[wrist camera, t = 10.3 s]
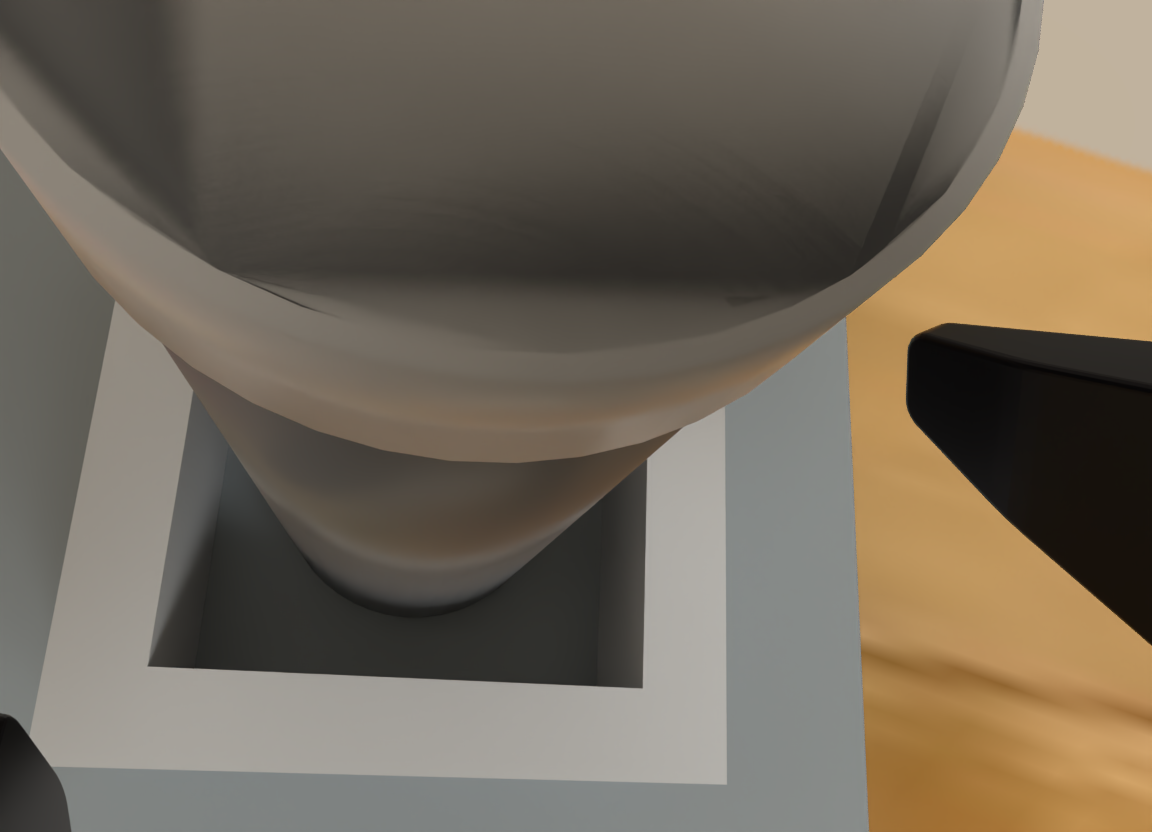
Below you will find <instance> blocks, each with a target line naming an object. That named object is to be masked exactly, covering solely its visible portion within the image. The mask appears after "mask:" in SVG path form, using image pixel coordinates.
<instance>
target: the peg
mask: <svg viewBox="0 0 1152 832" xmlns="http://www.w3.org/2000/svg"><path fill="white" fill-rule="evenodd" d="M1043 4H1044V0H0V149H1V150H2V152H3V153H4V155H5V156H6V157H7V159H8V160H9V162H10V163H11V164H12V166H13V167H14V168H15V170H16V171H17V173H18V174H19V175H20V177H21V178H22V180H23V181H24V182H25V184H26V185H27V186H28V188H29V189H30V191H31V192H32V193H33V195H34V196H35V198H36V199H37V200H38V202H39V203H40V204H41V206H42V207H43V209H44V210H45V211H46V213H47V214H48V216H49V217H50V218H51V220H52V221H53V222H54V224H55V225H56V227H57V228H58V229H59V231H60V232H61V234H62V235H63V236H64V238H65V239H66V240H67V242H68V243H69V245H70V246H71V247H72V249H73V250H74V252H75V253H76V254H77V256H78V257H79V258H80V260H81V261H82V263H83V264H84V265H85V267H86V268H87V270H88V271H89V272H90V274H91V275H92V276H93V277H94V279H95V280H96V281H97V282H98V283H99V284H100V285H101V286H102V287H103V288H104V289H105V290H106V291H107V292H108V293H109V294H110V295H111V296H112V297H113V298H114V299H115V300H116V301H117V303H118V304H119V305H120V306H121V307H122V308H123V309H124V310H125V311H126V312H127V313H128V314H129V315H130V316H131V317H132V318H133V319H134V320H135V321H136V322H137V323H138V324H139V325H140V326H141V327H142V328H144V329H145V330H146V331H147V332H149V333H150V334H151V335H152V336H154V337H155V338H156V339H157V340H159V341H160V342H161V343H162V344H163V345H164V347H165V348H166V350H167V351H168V353H169V354H170V356H171V357H172V359H173V361H174V362H175V364H176V365H177V367H178V368H179V370H180V371H181V373H182V374H183V376H184V377H185V379H186V380H187V382H188V383H189V385H190V386H191V388H192V389H193V391H194V392H195V394H196V395H197V397H198V398H199V400H200V401H201V403H202V404H203V406H204V408H205V409H206V411H207V412H208V414H209V415H210V417H211V418H212V420H213V421H214V423H215V424H216V426H217V427H218V429H219V430H220V432H221V433H222V435H223V436H224V438H225V439H226V441H227V442H228V444H229V445H230V447H231V448H232V450H233V451H234V453H235V454H236V456H237V458H238V459H239V461H240V462H241V464H242V465H243V467H244V468H245V470H246V471H247V473H248V474H249V476H250V477H251V479H252V480H253V482H254V483H255V485H256V486H257V488H258V489H259V491H260V492H261V494H262V495H263V497H264V498H265V500H266V501H267V503H268V505H269V506H270V508H271V509H272V511H273V512H274V514H275V515H276V517H277V518H278V520H279V521H280V523H281V524H282V526H283V527H284V529H285V530H286V532H287V533H288V535H289V536H290V538H291V539H292V541H293V542H294V544H295V545H296V547H297V548H298V550H299V551H300V553H301V555H302V556H303V557H304V559H305V560H306V562H307V563H308V564H309V566H310V567H311V569H312V570H313V571H314V572H315V573H316V574H317V575H318V576H319V578H320V579H321V580H322V581H323V582H324V583H325V584H326V585H328V586H329V587H330V588H332V589H333V590H334V591H335V592H337V593H338V594H339V595H341V596H343V597H344V598H346V599H348V600H349V601H351V602H353V603H354V604H357V605H359V606H361V607H364V608H366V609H369V610H371V611H375V612H379V613H382V614H386V615H392V616H399V617H429V616H437V615H442V614H446V613H450V612H453V611H457V610H460V609H462V608H465V607H467V606H469V605H472V604H474V603H476V602H477V601H479V600H481V599H483V598H484V597H486V596H488V595H489V594H491V593H492V592H493V591H495V590H496V589H497V588H499V587H500V586H501V585H502V584H504V583H505V582H506V581H507V580H508V579H509V578H510V577H512V576H513V575H514V574H515V573H516V572H517V571H519V570H520V569H521V568H522V567H523V566H524V565H525V564H527V563H528V562H529V561H530V560H531V559H532V558H533V557H535V556H536V555H537V554H538V553H539V552H540V551H542V550H543V549H544V548H545V547H546V546H547V545H548V544H550V543H551V542H552V541H553V540H554V539H555V538H556V537H558V536H559V535H560V534H561V533H562V532H563V531H565V530H566V529H567V528H568V527H569V526H570V525H571V524H573V523H574V522H575V521H576V520H577V519H578V518H579V517H581V516H582V515H583V514H584V513H585V512H586V511H588V510H589V509H590V508H591V507H592V506H593V505H594V504H596V503H597V502H598V501H599V500H600V499H601V498H603V497H604V496H605V495H606V494H607V493H608V492H609V491H611V490H612V489H613V488H614V487H615V486H616V485H617V484H619V483H620V482H621V481H622V480H623V479H624V478H626V477H627V476H628V475H629V474H630V473H631V472H632V471H634V470H635V469H636V468H637V467H638V466H639V465H640V464H642V463H643V462H644V461H645V460H646V459H647V458H649V457H650V456H651V455H652V454H653V453H654V452H655V451H657V450H658V449H659V448H660V447H661V446H662V445H664V444H665V443H666V442H667V441H668V440H669V439H670V438H672V437H673V436H674V435H675V434H676V433H677V432H678V431H680V430H681V429H682V428H683V427H684V426H687V425H690V424H692V423H695V422H697V421H699V420H701V419H703V418H705V417H706V416H708V415H710V414H712V413H714V412H715V411H717V410H719V409H721V408H723V407H724V406H726V405H728V404H730V403H732V402H733V401H735V400H737V399H739V398H741V397H743V396H744V395H746V394H748V393H749V392H750V391H752V390H753V389H754V388H756V387H757V386H758V385H760V384H761V383H762V382H764V381H765V380H766V379H767V378H769V377H770V376H771V375H773V374H774V373H775V372H777V371H778V370H779V369H781V368H782V367H783V366H784V365H786V364H787V363H788V362H790V361H791V360H792V359H793V358H795V357H796V356H797V355H798V354H800V353H801V352H802V351H803V350H805V349H806V348H807V347H808V346H810V345H811V344H812V343H813V342H815V341H816V340H817V339H818V338H820V337H821V336H822V335H823V334H825V333H826V332H827V331H828V330H830V329H831V328H832V327H833V326H835V325H836V324H837V323H838V322H840V321H841V320H842V319H843V318H845V317H846V316H847V315H848V314H850V313H851V312H852V311H853V310H855V309H856V308H857V307H858V306H859V305H861V304H862V303H863V302H864V301H866V300H867V299H868V298H869V297H871V296H872V295H873V294H874V293H876V292H877V291H878V290H879V289H881V288H882V287H883V286H884V285H886V284H887V283H888V282H889V281H891V280H892V279H893V278H894V277H896V276H897V275H898V274H899V273H901V272H902V271H903V270H904V269H906V268H907V267H908V266H909V265H911V264H912V263H913V262H914V261H916V260H917V259H918V258H919V257H921V256H922V254H923V253H924V252H925V251H926V250H927V249H928V248H929V247H930V246H931V245H932V244H933V243H934V242H935V241H936V240H937V239H938V238H939V237H940V236H941V234H942V233H943V232H944V231H945V230H946V229H947V228H948V227H949V226H950V225H951V224H952V223H953V222H954V221H955V220H956V219H957V218H958V217H959V216H960V214H961V213H962V212H963V211H964V210H965V209H966V207H967V206H968V204H969V203H970V201H971V200H972V199H973V197H974V196H975V194H976V193H977V191H978V190H979V188H980V187H981V185H982V184H983V182H984V181H985V179H986V178H987V176H988V175H989V173H990V172H991V170H992V169H993V168H994V166H995V165H996V163H997V162H998V160H999V158H1000V156H1001V154H1002V152H1003V149H1004V147H1005V145H1006V143H1007V141H1008V139H1009V136H1010V134H1011V132H1012V130H1013V128H1014V125H1015V123H1016V121H1017V119H1018V117H1019V115H1020V112H1021V110H1022V108H1023V105H1024V102H1025V98H1026V94H1027V91H1028V87H1029V84H1030V80H1031V76H1032V72H1033V69H1034V65H1035V61H1036V58H1037V54H1038V49H1039V40H1040V31H1041V21H1042V13H1043Z"/></svg>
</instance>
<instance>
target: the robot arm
mask: <svg viewBox="0 0 1152 832" xmlns="http://www.w3.org/2000/svg"><path fill="white" fill-rule="evenodd" d="M906 405H907V409H908V412H909V414H910V416H911V418H912V420H913V421H914V423H915V424H916V425H917V426H918V427H919V428H920V429H921V430H922V431H923V433H924V434H925V435H926V436H927V437H928V438H929V439H930V440H931V441H932V442H933V443H934V444H935V445H936V446H937V447H938V448H939V449H940V450H941V451H942V453H943V454H944V455H945V456H946V457H947V458H948V459H949V460H950V461H951V462H952V463H953V464H954V465H955V466H956V467H957V468H958V469H959V470H960V472H961V473H962V474H963V475H964V476H965V477H966V478H967V479H968V480H969V481H970V482H971V483H972V484H973V485H974V486H975V487H976V488H977V489H978V491H979V492H980V493H981V494H982V495H983V496H984V497H985V498H986V499H987V500H988V501H989V502H990V503H991V504H992V505H993V506H994V507H995V508H996V509H997V510H998V511H999V512H1000V513H1001V514H1002V515H1003V516H1004V517H1005V518H1006V519H1007V520H1008V521H1009V522H1010V523H1011V524H1012V525H1013V526H1015V527H1016V528H1017V529H1018V530H1019V531H1020V532H1021V533H1022V534H1023V535H1025V536H1026V537H1027V538H1028V539H1029V540H1030V541H1031V542H1033V543H1034V544H1035V545H1036V546H1037V547H1038V548H1040V549H1041V550H1042V551H1043V552H1044V553H1045V554H1046V555H1048V556H1049V557H1050V558H1051V559H1052V560H1053V561H1055V562H1056V563H1057V564H1058V565H1059V566H1060V567H1061V568H1063V569H1064V570H1065V571H1066V572H1067V573H1068V574H1070V575H1071V576H1072V577H1073V578H1074V579H1075V580H1076V581H1078V582H1079V583H1080V584H1081V585H1082V586H1083V587H1085V588H1086V589H1087V590H1088V591H1089V592H1090V593H1091V594H1093V595H1094V596H1095V597H1096V598H1097V599H1098V600H1100V601H1101V602H1102V603H1103V604H1104V605H1105V606H1106V607H1108V608H1109V609H1110V610H1111V611H1112V612H1113V613H1115V614H1116V615H1117V616H1118V617H1119V618H1120V619H1121V620H1123V621H1124V622H1125V623H1126V624H1127V625H1128V626H1130V627H1131V628H1132V629H1133V630H1134V631H1135V632H1137V633H1138V634H1139V635H1140V636H1141V637H1142V638H1143V639H1145V640H1146V641H1147V642H1148V643H1149V644H1150V645H1152V342H1151V341H1140V340H1129V339H1119V338H1108V337H1097V336H1086V335H1076V334H1065V333H1054V332H1043V331H1032V330H1022V329H1011V328H1000V327H989V326H979V325H968V324H957V323H945V324H941V325H938V326H936V327H933V328H931V329H928V330H926V331H924V332H921V333H919V334H917V335H915V336H914V337H913V338H912V339H911V342H910V344H909V346H908V354H907V383H906ZM0 832H72V831H71V824H70V818H69V811H68V804H67V799H66V796H65V792H64V789H63V786H62V784H61V782H60V780H59V778H58V776H57V774H56V773H55V771H54V770H53V768H52V767H51V766H50V764H49V763H48V762H47V760H46V759H45V757H44V756H43V755H42V753H41V752H40V750H39V749H38V748H37V746H36V745H35V744H34V742H33V741H32V739H31V738H30V737H29V735H28V734H27V733H26V731H25V730H24V728H23V727H22V726H21V724H20V723H19V722H18V721H17V720H16V719H15V718H13V717H12V716H11V715H9V714H2V713H0Z"/></svg>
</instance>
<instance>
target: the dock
mask: <svg viewBox="0 0 1152 832" xmlns="http://www.w3.org/2000/svg"><path fill="white" fill-rule="evenodd" d="M0 713H2V714H9V715H11V716H12V717H13V718H15V719H16V720H17V721H18V722H19V723H20V724H21V726H22V727H23V728H24V730H25V731H26V733H27V734H28V735H29V737H30V738H31V739H32V741H33V742H34V744H35V745H36V746H37V748H38V749H39V750H40V752H41V753H42V755H43V756H44V757H45V759H46V760H47V762H48V763H49V764H50V766H51V767H52V768H53V770H54V771H55V773H56V774H57V776H58V778H59V780H60V782H61V784H62V786H63V789H64V792H65V796H66V799H67V804H68V811H69V818H70V824H71V831H72V832H869V822H868V800H867V777H866V755H865V733H864V710H863V688H862V666H861V643H860V621H859V599H858V577H857V554H856V532H855V510H854V487H853V465H852V443H851V421H850V398H849V376H848V354H847V331H846V317H845V318H843V319H842V320H841V321H840V322H838V323H837V324H836V325H835V326H833V327H832V328H831V329H830V330H828V331H827V332H826V333H825V334H823V335H822V336H821V337H820V338H818V339H817V340H816V341H815V342H813V343H812V344H811V345H810V346H808V347H807V348H806V349H805V350H803V351H802V352H801V353H800V354H798V355H797V356H796V357H795V358H793V359H792V360H791V361H790V362H788V363H787V364H786V365H784V366H783V367H782V368H781V369H779V370H778V371H777V372H775V373H774V374H773V375H771V376H770V377H769V378H767V379H766V380H765V381H764V382H762V383H761V384H760V385H758V386H757V387H756V388H754V389H753V390H752V391H750V392H749V393H748V394H746V395H744V396H743V397H741V398H739V399H737V400H735V401H733V402H732V403H730V404H728V405H726V406H724V407H723V408H721V409H719V410H717V411H715V412H714V413H712V414H710V415H708V416H706V417H705V418H703V419H701V420H699V421H697V422H695V423H692V424H690V425H687V426H684V427H683V428H682V429H681V430H680V431H678V432H677V433H676V434H675V435H674V436H673V437H672V438H670V439H669V440H668V441H667V442H666V443H665V444H664V445H662V446H661V447H660V448H659V449H658V450H657V451H655V452H654V453H653V454H652V455H651V456H650V457H649V458H647V459H646V460H645V461H644V462H643V463H642V464H640V465H639V466H638V467H637V468H636V469H635V470H634V471H632V472H631V473H630V474H629V475H628V476H627V477H626V478H624V479H623V480H622V481H621V482H620V483H619V484H617V485H616V486H615V487H614V488H613V489H612V490H611V491H609V492H608V493H607V494H606V495H605V496H604V497H603V498H601V499H600V500H599V501H598V502H597V503H596V504H594V505H593V506H592V507H591V508H590V509H589V510H588V511H586V512H585V513H584V514H583V515H582V516H581V517H579V518H578V519H577V520H576V521H575V522H574V523H573V524H571V525H570V526H569V527H568V528H567V529H566V530H565V531H563V532H562V533H561V534H560V535H559V536H558V537H556V538H555V539H554V540H553V541H552V542H551V543H550V544H548V545H547V546H546V547H545V548H544V549H543V550H542V551H540V552H539V553H538V554H537V555H536V556H535V557H533V558H532V559H531V560H530V561H529V562H528V563H527V564H525V565H524V566H523V567H522V568H521V569H520V570H519V571H517V572H516V573H515V574H514V575H513V576H512V577H510V578H509V579H508V580H507V581H506V582H505V583H504V584H502V585H501V586H500V587H499V588H497V589H496V590H495V591H493V592H492V593H491V594H489V595H488V596H486V597H484V598H483V599H481V600H479V601H477V602H476V603H474V604H472V605H469V606H467V607H465V608H462V609H460V610H457V611H453V612H450V613H446V614H442V615H437V616H429V617H399V616H392V615H386V614H382V613H379V612H375V611H371V610H369V609H366V608H364V607H361V606H359V605H357V604H354V603H353V602H351V601H349V600H348V599H346V598H344V597H343V596H341V595H339V594H338V593H337V592H335V591H334V590H333V589H332V588H330V587H329V586H328V585H326V584H325V583H324V582H323V581H322V580H321V579H320V578H319V576H318V575H317V574H316V573H315V572H314V571H313V570H312V569H311V567H310V566H309V564H308V563H307V562H306V560H305V559H304V557H303V556H302V555H301V553H300V551H299V550H298V548H297V547H296V545H295V544H294V542H293V541H292V539H291V538H290V536H289V535H288V533H287V532H286V530H285V529H284V527H283V526H282V524H281V523H280V521H279V520H278V518H277V517H276V515H275V514H274V512H273V511H272V509H271V508H270V506H269V505H268V503H267V501H266V500H265V498H264V497H263V495H262V494H261V492H260V491H259V489H258V488H257V486H256V485H255V483H254V482H253V480H252V479H251V477H250V476H249V474H248V473H247V471H246V470H245V468H244V467H243V465H242V464H241V462H240V461H239V459H238V458H237V456H236V454H235V453H234V451H233V450H232V448H231V447H230V445H229V444H228V442H227V441H226V439H225V438H224V436H223V435H222V433H221V432H220V430H219V429H218V427H217V426H216V424H215V423H214V421H213V420H212V418H211V417H210V415H209V414H208V412H207V411H206V409H205V408H204V406H203V404H202V403H201V401H200V400H199V398H198V397H197V395H196V394H195V392H194V391H193V389H192V388H191V386H190V385H189V383H188V382H187V380H186V379H185V377H184V376H183V374H182V373H181V371H180V370H179V368H178V367H177V365H176V364H175V362H174V361H173V359H172V357H171V356H170V354H169V353H168V351H167V350H166V348H165V347H164V345H163V344H162V343H161V342H160V341H159V340H157V339H156V338H155V337H154V336H152V335H151V334H150V333H149V332H147V331H146V330H145V329H144V328H142V327H141V326H140V325H139V324H138V323H137V322H136V321H135V320H134V319H133V318H132V317H131V316H130V315H129V314H128V313H127V312H126V311H125V310H124V309H123V308H122V307H121V306H120V305H119V304H118V303H117V301H116V300H115V299H114V298H113V297H112V296H111V295H110V294H109V293H108V292H107V291H106V290H105V289H104V288H103V287H102V286H101V285H100V284H99V283H98V282H97V281H96V280H95V279H94V277H93V276H92V275H91V274H90V272H89V271H88V270H87V268H86V267H85V265H84V264H83V263H82V261H81V260H80V258H79V257H78V256H77V254H76V253H75V252H74V250H73V249H72V247H71V246H70V245H69V243H68V242H67V240H66V239H65V238H64V236H63V235H62V234H61V232H60V231H59V229H58V228H57V227H56V225H55V224H54V222H53V221H52V220H51V218H50V217H49V216H48V214H47V213H46V211H45V210H44V209H43V207H42V206H41V204H40V203H39V202H38V200H37V199H36V198H35V196H34V195H33V193H32V192H31V191H30V189H29V188H28V186H27V185H26V184H25V182H24V181H23V180H22V178H21V177H20V175H19V174H18V173H17V171H16V170H15V168H14V167H13V166H12V164H11V163H10V162H9V160H8V159H7V157H6V156H5V155H4V153H3V152H2V150H1V149H0Z"/></svg>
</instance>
